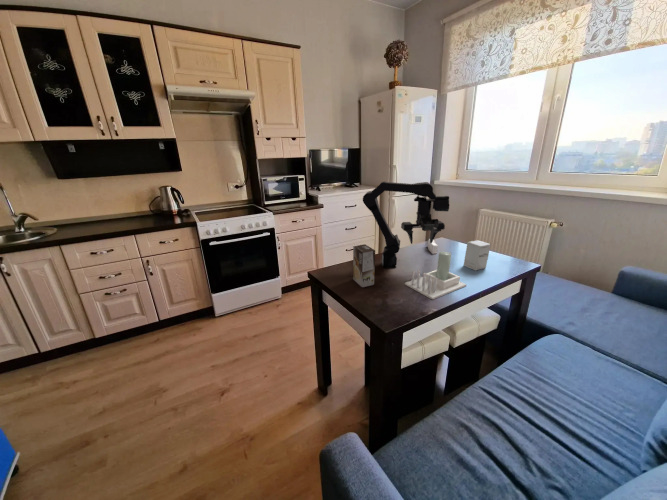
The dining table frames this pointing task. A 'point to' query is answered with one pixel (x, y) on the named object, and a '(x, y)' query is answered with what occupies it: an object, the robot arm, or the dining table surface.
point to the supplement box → (476, 255)
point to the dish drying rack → (435, 284)
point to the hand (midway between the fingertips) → (421, 243)
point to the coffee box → (363, 265)
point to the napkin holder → (432, 247)
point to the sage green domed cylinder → (443, 265)
